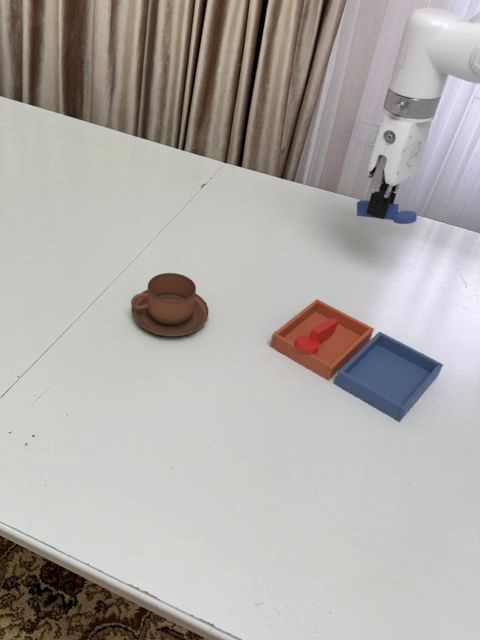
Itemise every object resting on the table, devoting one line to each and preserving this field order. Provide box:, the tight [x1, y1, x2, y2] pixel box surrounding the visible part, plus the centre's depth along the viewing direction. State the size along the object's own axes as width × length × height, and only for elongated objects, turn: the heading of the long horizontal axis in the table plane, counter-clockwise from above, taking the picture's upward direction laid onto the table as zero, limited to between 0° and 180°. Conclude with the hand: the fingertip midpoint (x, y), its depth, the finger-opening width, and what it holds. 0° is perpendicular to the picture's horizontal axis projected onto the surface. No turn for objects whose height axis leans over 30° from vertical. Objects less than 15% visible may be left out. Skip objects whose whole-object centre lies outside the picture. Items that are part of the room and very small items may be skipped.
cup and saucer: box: [130, 272, 210, 337], centre depth 96 cm, size 12×12×6 cm
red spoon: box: [294, 317, 339, 354], centre depth 93 cm, size 10×4×2 cm, turn 140°
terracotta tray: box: [269, 298, 375, 381], centre depth 95 cm, size 10×13×2 cm
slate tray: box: [333, 331, 444, 422], centre depth 90 cm, size 10×13×2 cm
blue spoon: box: [356, 199, 418, 225], centre depth 103 cm, size 10×4×2 cm, turn 49°
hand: (378, 213), depth 104 cm, fingers closed on blue spoon, 1 cm apart
